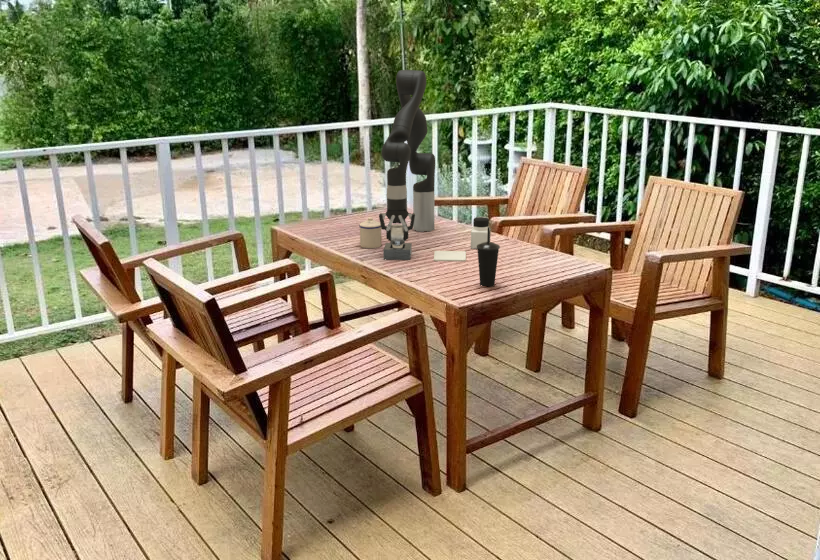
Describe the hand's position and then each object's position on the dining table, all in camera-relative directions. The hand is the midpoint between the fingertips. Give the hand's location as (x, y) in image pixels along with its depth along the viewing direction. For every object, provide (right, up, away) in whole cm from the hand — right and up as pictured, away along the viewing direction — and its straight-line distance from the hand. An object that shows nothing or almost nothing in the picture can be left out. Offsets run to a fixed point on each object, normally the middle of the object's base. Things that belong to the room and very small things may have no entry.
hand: (397, 240), depth 281 cm
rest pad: (+20, -6, +1) cm, 21 cm away
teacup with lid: (-12, -1, +19) cm, 22 cm away
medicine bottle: (+33, -2, +15) cm, 36 cm away
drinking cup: (+31, -17, -32) cm, 48 cm away
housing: (0, -6, +2) cm, 7 cm away
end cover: (0, -5, +2) cm, 6 cm away
